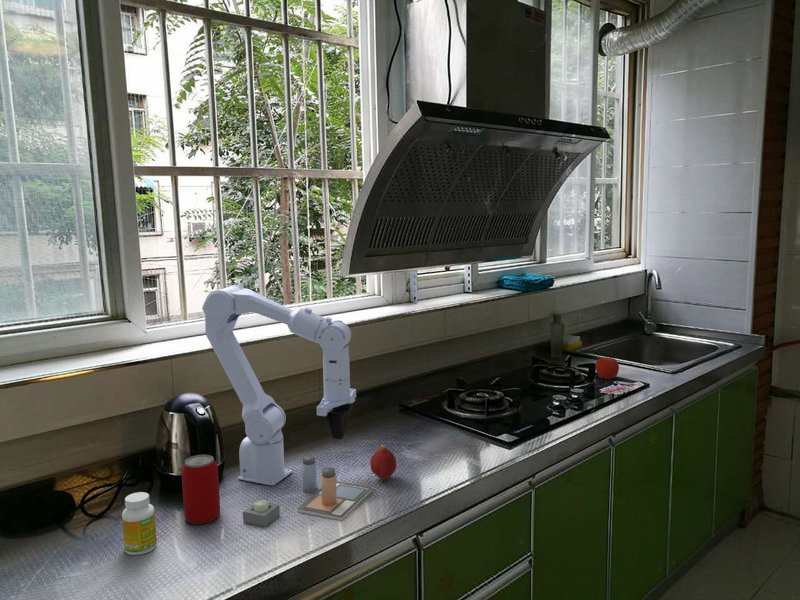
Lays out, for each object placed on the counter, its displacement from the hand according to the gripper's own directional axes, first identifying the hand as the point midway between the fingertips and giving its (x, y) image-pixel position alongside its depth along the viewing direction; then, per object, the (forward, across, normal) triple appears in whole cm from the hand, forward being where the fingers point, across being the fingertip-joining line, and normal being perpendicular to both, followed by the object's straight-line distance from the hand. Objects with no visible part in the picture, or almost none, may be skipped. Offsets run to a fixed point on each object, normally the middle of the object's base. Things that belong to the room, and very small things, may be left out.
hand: (338, 437), depth 139 cm
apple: (+10, +108, -48) cm, 119 cm away
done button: (+11, -21, +6) cm, 24 cm away
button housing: (+10, -21, +6) cm, 24 cm away
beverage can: (+10, -25, +17) cm, 32 cm away
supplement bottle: (+10, -38, +20) cm, 44 cm away
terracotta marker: (+9, -12, -4) cm, 15 cm away
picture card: (+10, -9, -4) cm, 14 cm away
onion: (+10, +4, -9) cm, 14 cm away
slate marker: (+10, -6, +4) cm, 12 cm away
